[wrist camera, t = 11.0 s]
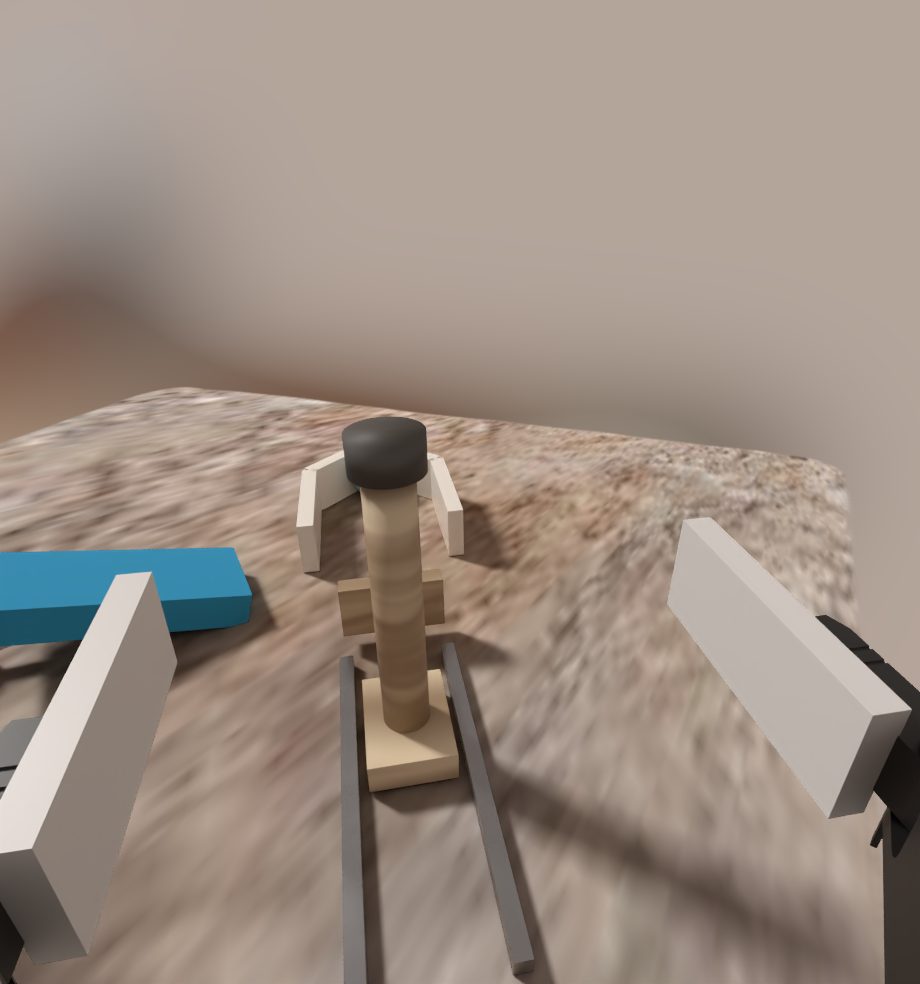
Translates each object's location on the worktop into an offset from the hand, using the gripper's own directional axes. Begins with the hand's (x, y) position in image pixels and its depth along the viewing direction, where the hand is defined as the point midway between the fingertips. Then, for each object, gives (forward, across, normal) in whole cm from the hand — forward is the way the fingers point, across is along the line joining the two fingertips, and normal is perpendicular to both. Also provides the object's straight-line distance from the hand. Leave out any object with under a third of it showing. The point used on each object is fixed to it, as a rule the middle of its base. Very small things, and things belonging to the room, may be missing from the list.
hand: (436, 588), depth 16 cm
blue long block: (+23, -19, -19) cm, 36 cm away
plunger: (+14, 0, -18) cm, 22 cm away
